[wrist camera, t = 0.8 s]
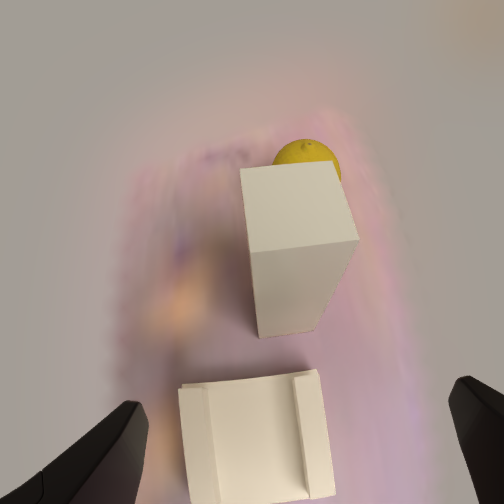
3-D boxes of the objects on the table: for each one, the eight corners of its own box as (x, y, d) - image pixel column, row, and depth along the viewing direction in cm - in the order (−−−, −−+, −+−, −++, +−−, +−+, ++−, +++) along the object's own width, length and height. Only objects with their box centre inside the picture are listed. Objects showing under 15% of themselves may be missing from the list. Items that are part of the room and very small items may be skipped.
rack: (329, 488, 17) (340, 500, 14) (200, 502, 17) (189, 515, 14) (313, 371, 21) (321, 364, 18) (187, 385, 21) (173, 381, 18)
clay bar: (313, 331, 23) (359, 239, 11) (258, 338, 23) (250, 253, 11) (303, 281, 24) (332, 160, 13) (252, 288, 24) (239, 168, 13)
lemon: (343, 210, 28) (363, 144, 21) (306, 251, 26) (318, 187, 19) (296, 178, 30) (301, 110, 22) (256, 213, 28) (251, 145, 21)
